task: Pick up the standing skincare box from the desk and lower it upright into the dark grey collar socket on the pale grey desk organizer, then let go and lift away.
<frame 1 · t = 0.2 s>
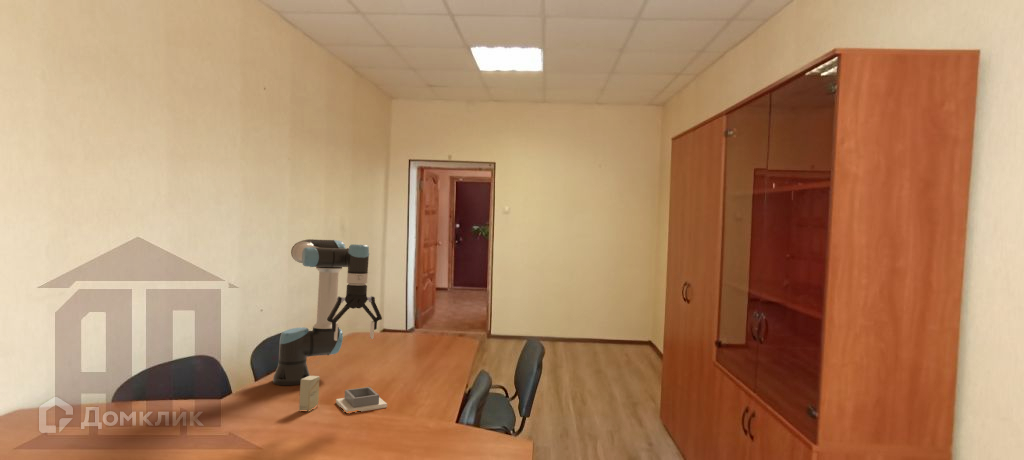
hand: (354, 339, 187), 27 cm above the table, tool pointing down, fingers open, 13 cm apart
skincare box: (308, 410, 185), on the table
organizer: (361, 405, 192), on the table
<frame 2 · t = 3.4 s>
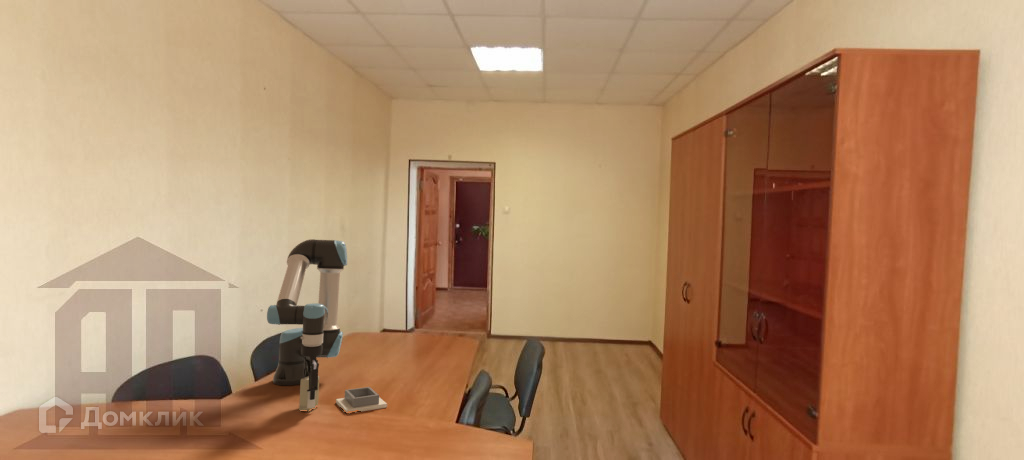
hand: (308, 404, 185), 2 cm above the table, tool pointing down, fingers closed on skincare box, 7 cm apart
skincare box: (308, 410, 185), on the table, touching gripper
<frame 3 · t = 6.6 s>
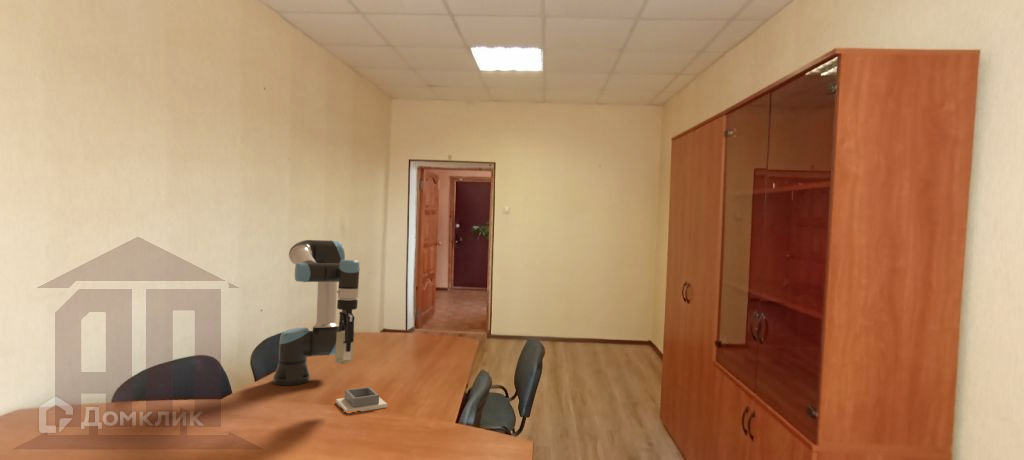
hand: (344, 357, 189), 19 cm above the table, tool pointing down, fingers closed on skincare box, 7 cm apart
skincare box: (344, 362, 189), point 17 cm above the table, touching gripper
when the fingers open (5 cm above the table, at t = 9.7 s): skincare box drops 2 cm, resting on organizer.
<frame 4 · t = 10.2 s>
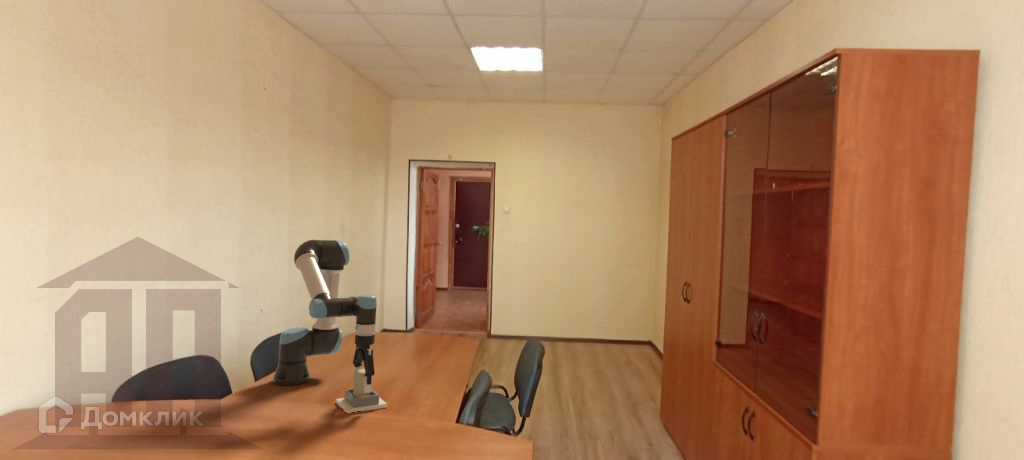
hand: (362, 387, 192), 7 cm above the table, tool pointing down, fingers open, 13 cm apart
skincare box: (361, 401, 192), point 1 cm above the table, touching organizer
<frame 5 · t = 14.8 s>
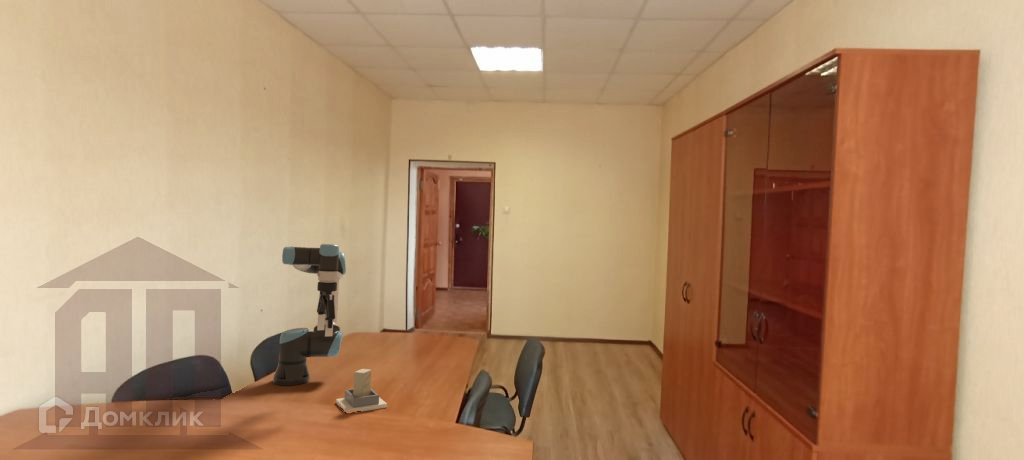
hand: (324, 333, 198), 27 cm above the table, tool pointing down, fingers open, 13 cm apart
nothing on the table moved.
at the end: skincare box 0.1 cm off-centre on the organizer, point 1.3 cm above the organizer's base; skincare box tilted 0°; the gripper is holding nothing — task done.
